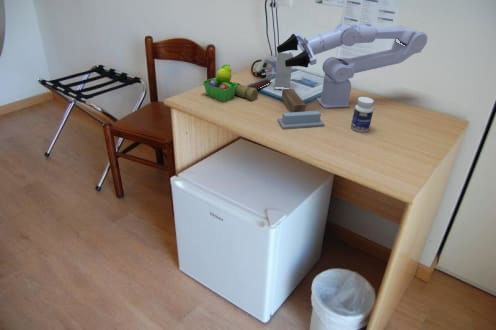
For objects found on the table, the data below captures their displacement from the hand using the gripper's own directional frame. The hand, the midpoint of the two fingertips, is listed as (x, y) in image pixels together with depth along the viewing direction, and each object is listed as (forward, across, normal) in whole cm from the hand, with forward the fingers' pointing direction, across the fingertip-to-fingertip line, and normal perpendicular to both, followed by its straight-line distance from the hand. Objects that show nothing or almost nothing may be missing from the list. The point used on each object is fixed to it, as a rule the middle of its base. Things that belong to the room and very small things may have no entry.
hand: (281, 56), depth 132 cm
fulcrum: (+1, +19, +13) cm, 23 cm away
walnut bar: (0, +8, +17) cm, 19 cm away
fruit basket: (+22, -8, +16) cm, 28 cm away
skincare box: (-2, -11, +24) cm, 27 cm away
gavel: (+8, -10, +21) cm, 25 cm away
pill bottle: (-16, +27, +16) cm, 35 cm away
